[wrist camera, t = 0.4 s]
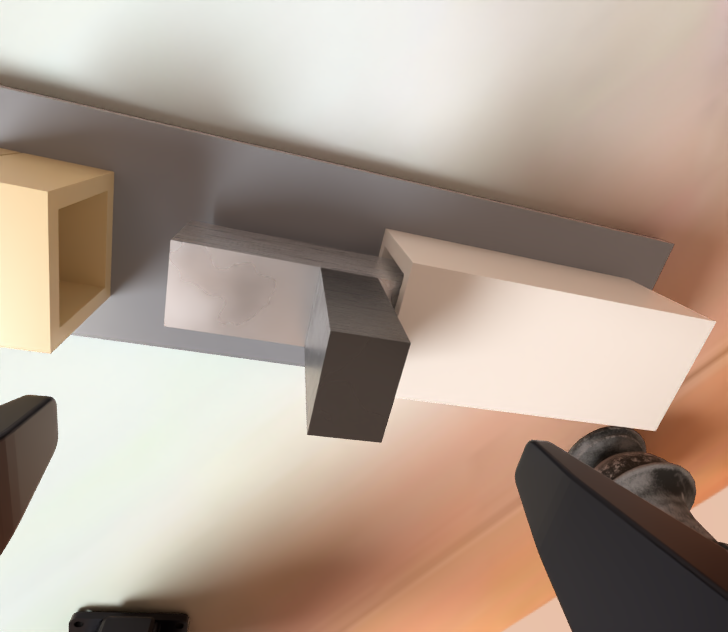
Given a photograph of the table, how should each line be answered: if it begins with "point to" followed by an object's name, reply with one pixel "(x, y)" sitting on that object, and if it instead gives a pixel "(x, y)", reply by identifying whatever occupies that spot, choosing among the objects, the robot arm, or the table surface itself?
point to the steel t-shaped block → (299, 316)
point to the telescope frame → (341, 231)
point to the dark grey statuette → (641, 472)
